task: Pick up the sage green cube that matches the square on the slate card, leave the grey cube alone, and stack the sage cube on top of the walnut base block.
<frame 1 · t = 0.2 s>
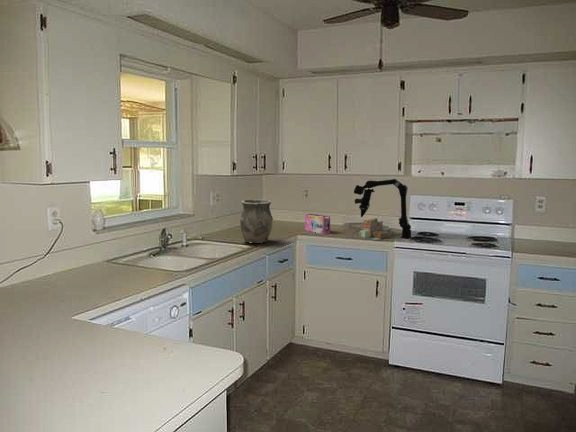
hand: (362, 216, 367), 15 cm above the worktop, tool pointing down, fingers open, 9 cm apart
slate card: (376, 239, 350), on the worktop
walnut base block: (381, 237, 359), on the worktop
clay pot: (256, 242, 340), on the worktop
sage cube: (365, 237, 361), on the worktop
gum box: (317, 232, 385), on the worktop
stack of blocks: (373, 233, 378), on the worktop
grey cube: (386, 235, 370), on the worktop
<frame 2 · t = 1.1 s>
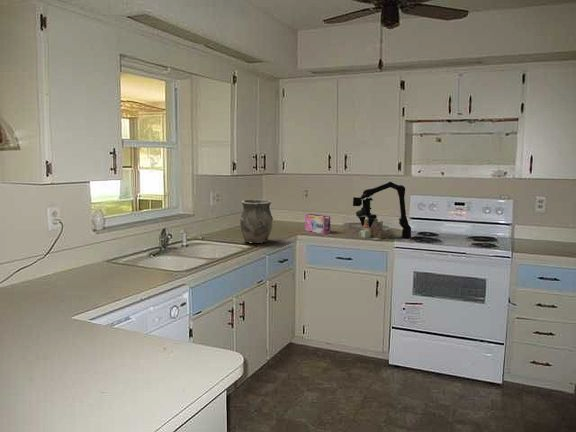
hand: (366, 226, 360), 8 cm above the worktop, tool pointing down, fingers open, 9 cm apart
nothing on the worktop moved.
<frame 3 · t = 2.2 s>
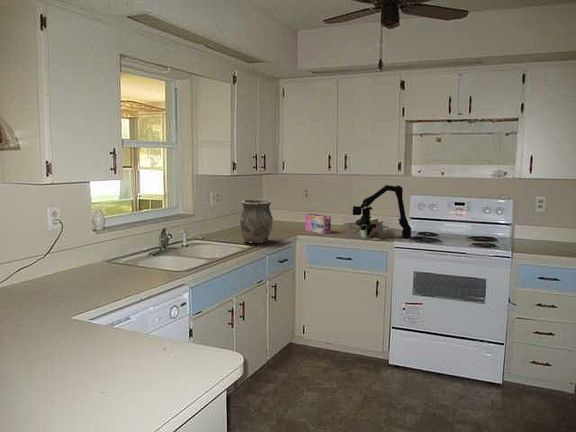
hand: (365, 235, 361), 1 cm above the worktop, tool pointing down, fingers closed on sage cube, 5 cm apart
sage cube: (365, 237, 361), on the worktop, touching gripper
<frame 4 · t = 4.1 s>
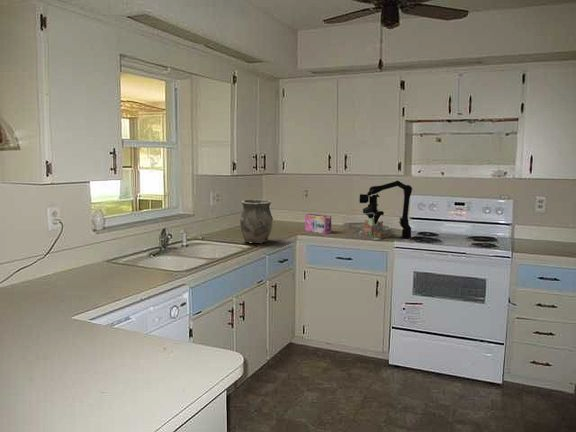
hand: (373, 223, 359), 10 cm above the worktop, tool pointing down, fingers closed on sage cube, 5 cm apart
sage cube: (373, 224, 359), point 9 cm above the worktop, touching gripper
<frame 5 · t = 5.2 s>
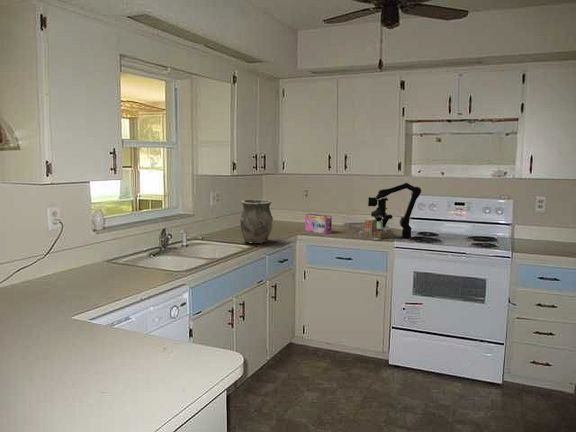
hand: (381, 227, 358), 8 cm above the worktop, tool pointing down, fingers closed on sage cube, 5 cm apart
sage cube: (381, 228, 358), point 7 cm above the worktop, touching gripper
when the fingers open (6 cm above the worktop, at t = 6.0 s): sage cube drops 1 cm, resting on walnut base block.
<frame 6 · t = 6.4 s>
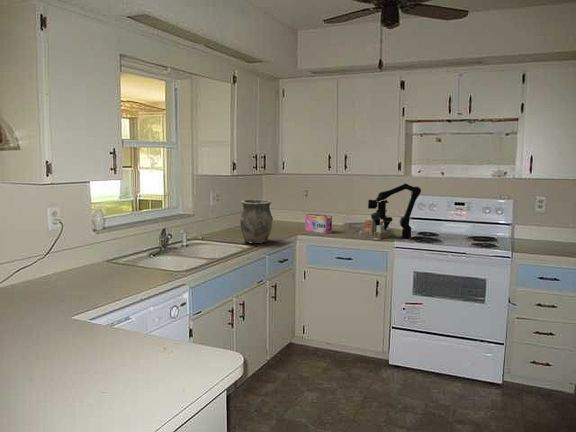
hand: (381, 229, 358), 6 cm above the worktop, tool pointing down, fingers open, 9 cm apart
sage cube: (381, 232, 358), point 4 cm above the worktop, touching walnut base block
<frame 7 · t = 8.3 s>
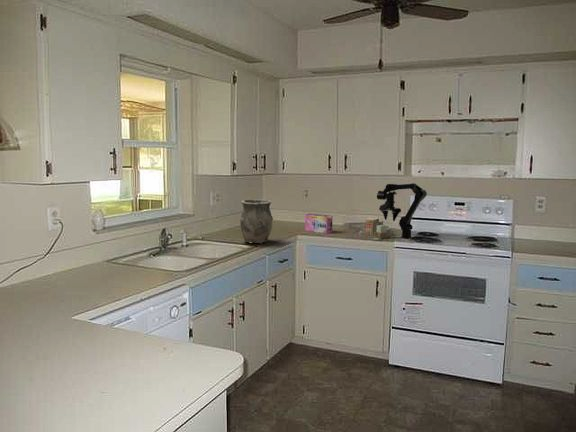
hand: (389, 220, 365), 12 cm above the worktop, tool pointing down, fingers open, 9 cm apart
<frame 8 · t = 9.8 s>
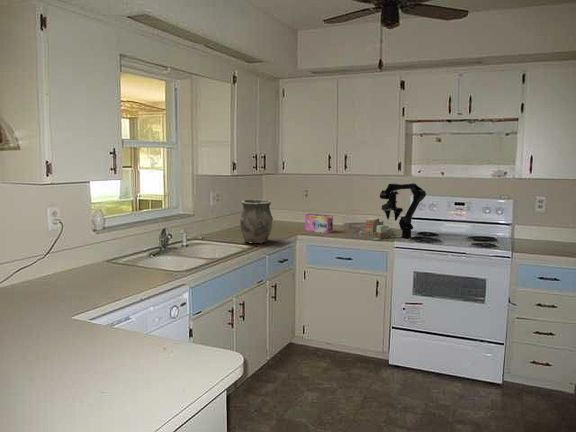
hand: (391, 220, 367), 12 cm above the worktop, tool pointing down, fingers open, 9 cm apart
at the end: sage cube 0.0 cm off-centre on the walnut base block, point 4.0 cm above the walnut base block's base; sage cube tilted 0°; the gripper is holding nothing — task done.
